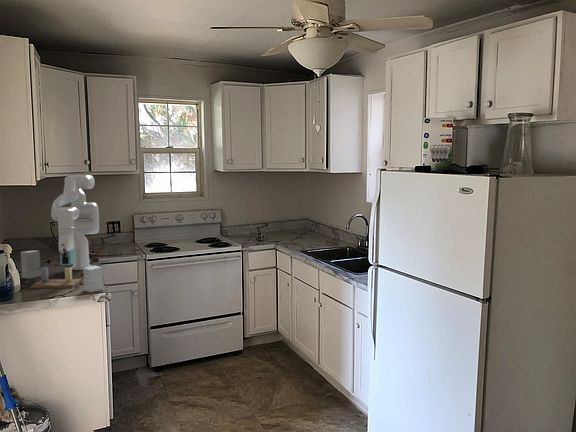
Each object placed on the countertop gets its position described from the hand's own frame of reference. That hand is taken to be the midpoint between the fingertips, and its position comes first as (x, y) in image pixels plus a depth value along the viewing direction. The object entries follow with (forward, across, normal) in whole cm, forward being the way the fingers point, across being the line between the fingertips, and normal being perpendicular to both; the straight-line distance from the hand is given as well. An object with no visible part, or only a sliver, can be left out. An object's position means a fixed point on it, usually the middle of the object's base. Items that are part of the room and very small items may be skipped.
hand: (67, 262), depth 265 cm
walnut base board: (+13, 0, -6) cm, 14 cm away
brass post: (+11, 0, 0) cm, 11 cm away
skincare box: (+13, -18, -29) cm, 37 cm away
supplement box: (+13, +12, +18) cm, 25 cm away
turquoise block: (+1, 0, 0) cm, 1 cm away
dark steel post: (+11, 0, -13) cm, 17 cm away
